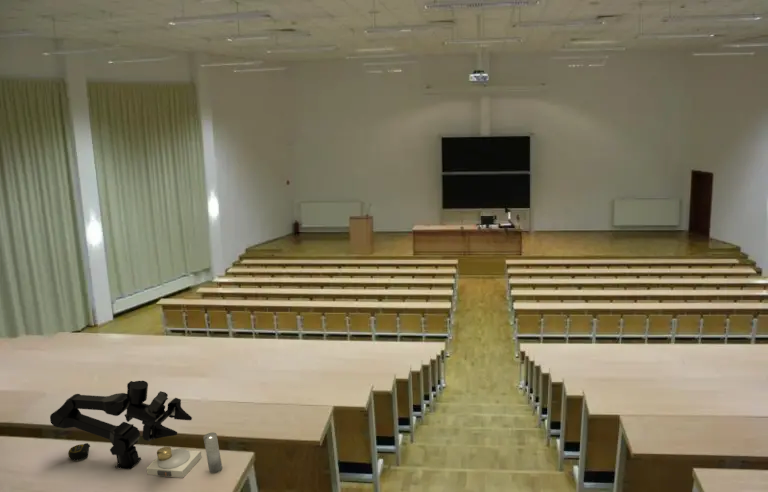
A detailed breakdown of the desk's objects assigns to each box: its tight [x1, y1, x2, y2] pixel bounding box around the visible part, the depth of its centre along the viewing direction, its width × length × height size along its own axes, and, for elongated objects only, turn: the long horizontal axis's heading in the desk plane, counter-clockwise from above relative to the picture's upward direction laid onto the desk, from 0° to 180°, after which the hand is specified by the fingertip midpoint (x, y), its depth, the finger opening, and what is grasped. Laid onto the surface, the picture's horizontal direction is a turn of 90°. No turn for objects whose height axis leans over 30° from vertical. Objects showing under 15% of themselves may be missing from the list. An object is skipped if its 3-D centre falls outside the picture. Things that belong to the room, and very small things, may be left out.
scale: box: [146, 448, 202, 479], centre depth 210 cm, size 14×13×3 cm
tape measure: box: [68, 443, 91, 462], centre depth 220 cm, size 7×7×4 cm
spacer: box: [203, 432, 223, 474], centre depth 205 cm, size 4×4×13 cm
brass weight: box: [156, 446, 172, 461], centre depth 210 cm, size 5×5×2 cm
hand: (184, 426), depth 204 cm, fingers open, 9 cm apart
